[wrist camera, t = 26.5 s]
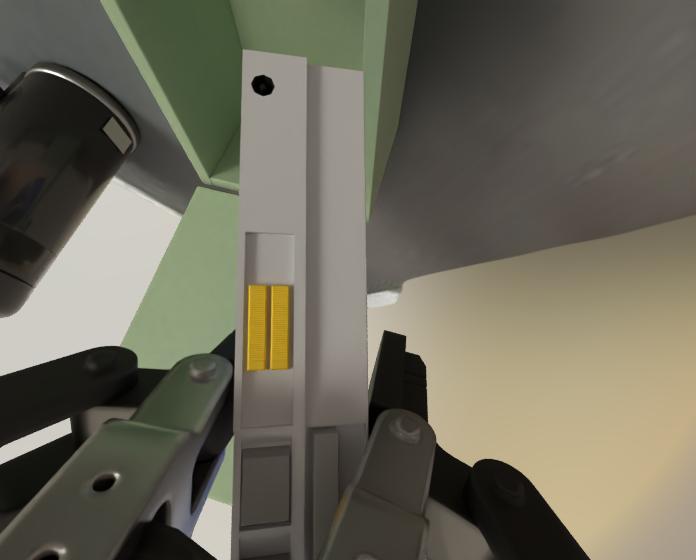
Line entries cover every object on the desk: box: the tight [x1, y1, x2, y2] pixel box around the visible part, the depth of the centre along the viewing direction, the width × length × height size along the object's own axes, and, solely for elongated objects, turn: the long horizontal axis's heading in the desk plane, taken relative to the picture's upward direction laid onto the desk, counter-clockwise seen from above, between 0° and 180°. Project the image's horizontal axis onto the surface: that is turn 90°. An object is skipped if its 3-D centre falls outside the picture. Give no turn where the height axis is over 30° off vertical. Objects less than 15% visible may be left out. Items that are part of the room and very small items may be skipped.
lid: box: [120, 186, 367, 506], centre depth 23 cm, size 16×12×6 cm
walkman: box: [231, 49, 369, 560], centre depth 11 cm, size 8×3×12 cm, turn 164°
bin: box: [100, 0, 418, 222], centre depth 18 cm, size 16×12×9 cm
